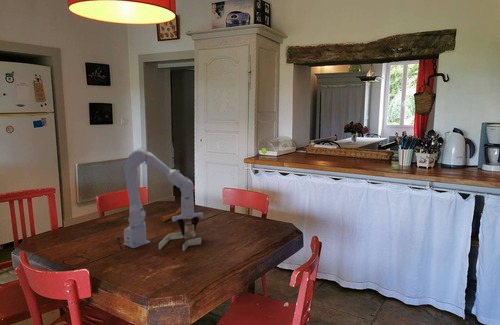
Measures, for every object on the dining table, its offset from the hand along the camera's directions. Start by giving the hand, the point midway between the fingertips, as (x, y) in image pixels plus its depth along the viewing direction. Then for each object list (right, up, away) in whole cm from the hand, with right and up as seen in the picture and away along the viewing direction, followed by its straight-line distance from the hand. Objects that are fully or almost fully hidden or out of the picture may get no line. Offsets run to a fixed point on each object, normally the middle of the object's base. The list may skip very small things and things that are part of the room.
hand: (188, 233), depth 171 cm
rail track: (-3, -4, -2) cm, 5 cm away
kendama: (-14, +1, +38) cm, 41 cm away
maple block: (0, -1, 0) cm, 1 cm away
